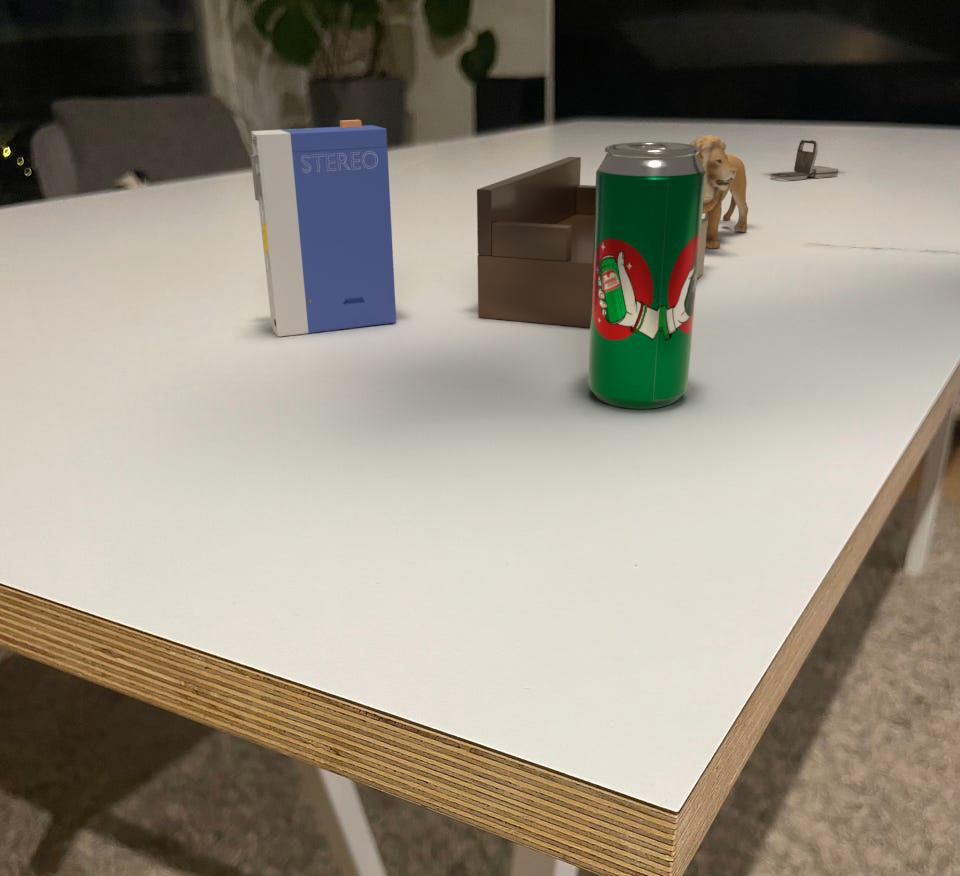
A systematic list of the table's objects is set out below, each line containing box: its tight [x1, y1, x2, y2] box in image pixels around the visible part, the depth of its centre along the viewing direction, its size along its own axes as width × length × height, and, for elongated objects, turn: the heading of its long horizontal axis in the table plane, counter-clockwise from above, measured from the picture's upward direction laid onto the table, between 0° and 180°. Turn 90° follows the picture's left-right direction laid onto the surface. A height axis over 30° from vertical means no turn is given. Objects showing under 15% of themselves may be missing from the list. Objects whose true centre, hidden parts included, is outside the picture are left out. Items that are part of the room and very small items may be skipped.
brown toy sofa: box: [476, 156, 708, 329], centre depth 72 cm, size 11×18×8 cm, turn 157°
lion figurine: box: [689, 134, 749, 249], centre depth 89 cm, size 15×5×9 cm, turn 159°
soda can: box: [587, 141, 706, 410], centre depth 51 cm, size 5×5×12 cm
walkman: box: [250, 119, 397, 338], centre depth 64 cm, size 8×3×12 cm, turn 112°
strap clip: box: [769, 138, 839, 181], centre depth 124 cm, size 8×3×4 cm, turn 115°
